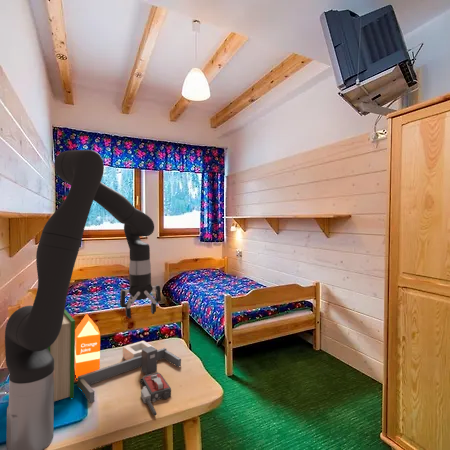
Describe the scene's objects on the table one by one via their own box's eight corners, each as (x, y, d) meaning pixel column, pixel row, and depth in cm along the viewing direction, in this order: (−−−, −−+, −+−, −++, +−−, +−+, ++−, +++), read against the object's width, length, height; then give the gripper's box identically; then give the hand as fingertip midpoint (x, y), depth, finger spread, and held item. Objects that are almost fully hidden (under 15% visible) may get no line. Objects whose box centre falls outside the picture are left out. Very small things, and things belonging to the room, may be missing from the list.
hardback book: (73, 398, 91) (75, 320, 90) (45, 407, 86) (47, 325, 86) (61, 374, 105) (62, 306, 104) (37, 381, 100) (38, 310, 99)
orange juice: (97, 364, 112) (98, 311, 112) (99, 375, 105) (101, 318, 104) (73, 368, 108) (74, 314, 108) (75, 380, 101) (76, 322, 100)
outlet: (133, 366, 112) (133, 354, 112) (122, 357, 118) (123, 346, 118) (154, 358, 118) (154, 347, 118) (143, 351, 124) (143, 340, 124)
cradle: (90, 402, 89) (90, 389, 89) (77, 386, 97) (77, 374, 97) (180, 366, 112) (181, 355, 112) (164, 356, 120) (164, 346, 120)
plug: (147, 375, 105) (147, 353, 105) (141, 370, 108) (141, 349, 108) (157, 371, 108) (157, 349, 108) (151, 367, 111) (151, 346, 111)
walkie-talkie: (134, 385, 100) (151, 420, 83) (134, 372, 100) (151, 405, 82) (159, 378, 104) (180, 411, 87) (159, 366, 104) (181, 396, 87)
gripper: (121, 276, 101) (123, 322, 102) (162, 271, 108) (163, 315, 109) (117, 271, 107) (119, 315, 108) (156, 267, 114) (157, 309, 115)
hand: (141, 315), depth 109 cm, fingers open, 8 cm apart
